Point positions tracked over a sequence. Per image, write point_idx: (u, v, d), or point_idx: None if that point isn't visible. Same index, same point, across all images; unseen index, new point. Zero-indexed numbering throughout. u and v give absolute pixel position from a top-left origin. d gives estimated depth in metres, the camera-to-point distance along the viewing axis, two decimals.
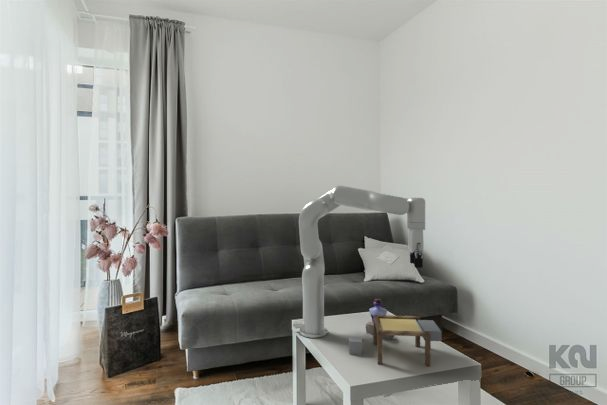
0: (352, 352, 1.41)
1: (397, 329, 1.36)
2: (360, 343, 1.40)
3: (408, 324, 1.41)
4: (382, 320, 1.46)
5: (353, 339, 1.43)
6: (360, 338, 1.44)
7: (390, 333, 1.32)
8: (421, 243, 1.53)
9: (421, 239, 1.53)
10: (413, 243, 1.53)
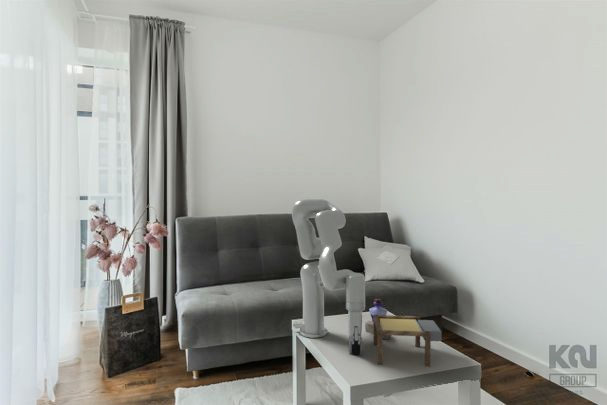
0: None
1: (397, 329, 1.36)
2: (360, 343, 1.40)
3: (408, 324, 1.41)
4: (382, 320, 1.46)
5: None
6: (360, 338, 1.44)
7: (390, 333, 1.32)
8: (359, 327, 1.38)
9: (359, 322, 1.38)
10: (350, 326, 1.38)
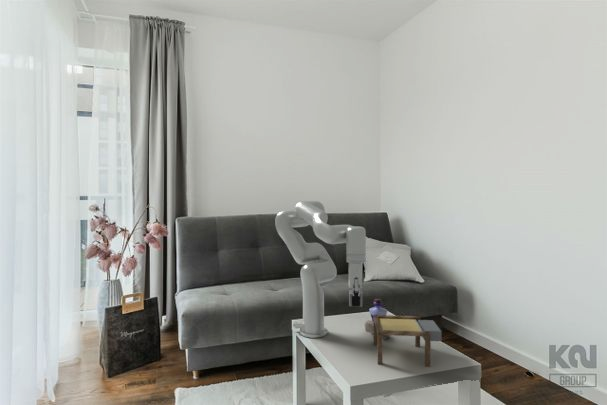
0: None
1: (397, 329, 1.36)
2: (360, 295, 1.40)
3: (408, 324, 1.41)
4: (382, 320, 1.46)
5: None
6: (360, 291, 1.44)
7: (390, 333, 1.32)
8: (359, 278, 1.38)
9: (359, 274, 1.38)
10: (350, 278, 1.38)
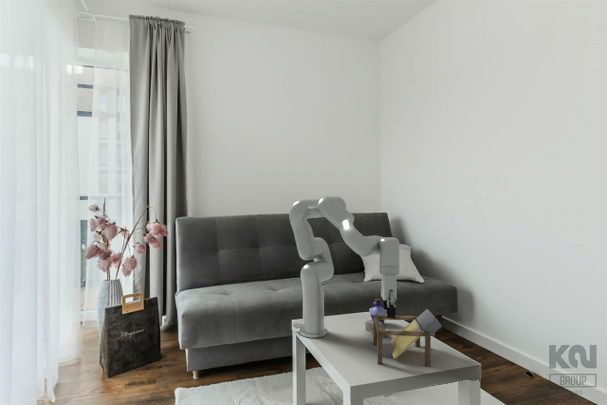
0: (389, 353, 1.39)
1: (403, 345, 1.36)
2: None
3: None
4: None
5: (377, 349, 1.42)
6: (377, 340, 1.42)
7: (390, 333, 1.32)
8: (394, 290, 1.35)
9: (394, 286, 1.36)
10: (385, 290, 1.36)
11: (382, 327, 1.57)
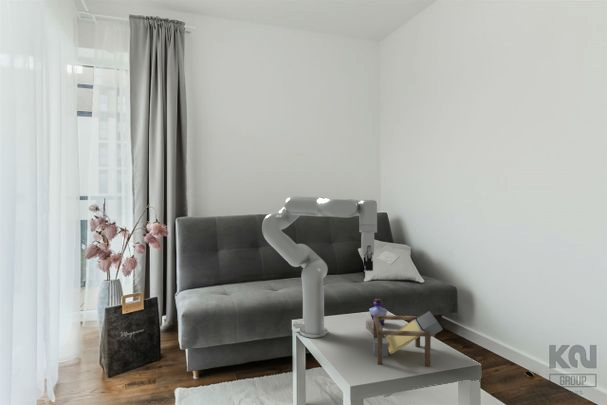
0: (385, 353, 1.39)
1: (400, 342, 1.36)
2: (376, 344, 1.39)
3: (409, 329, 1.41)
4: (387, 338, 1.45)
5: None
6: (373, 340, 1.43)
7: (390, 333, 1.32)
8: (371, 246, 1.51)
9: (371, 242, 1.51)
10: (363, 246, 1.51)
11: None
